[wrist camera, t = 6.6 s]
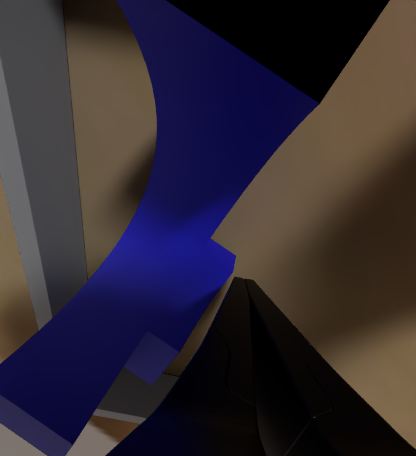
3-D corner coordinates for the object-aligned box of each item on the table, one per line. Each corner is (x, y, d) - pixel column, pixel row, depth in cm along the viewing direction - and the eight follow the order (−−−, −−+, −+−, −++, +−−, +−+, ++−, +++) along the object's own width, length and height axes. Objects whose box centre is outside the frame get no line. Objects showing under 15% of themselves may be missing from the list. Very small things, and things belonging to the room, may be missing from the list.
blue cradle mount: (176, 330, 11) (101, 493, 6) (111, 286, 11) (-25, 405, 6) (334, 132, 7) (681, -7, 1) (227, 61, 7) (119, -368, 1)
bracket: (395, -39, 6) (514, -166, 3) (230, 393, 14) (232, 441, 12) (24, -110, 6) (-114, -287, 3) (84, 366, 14) (58, 408, 12)
